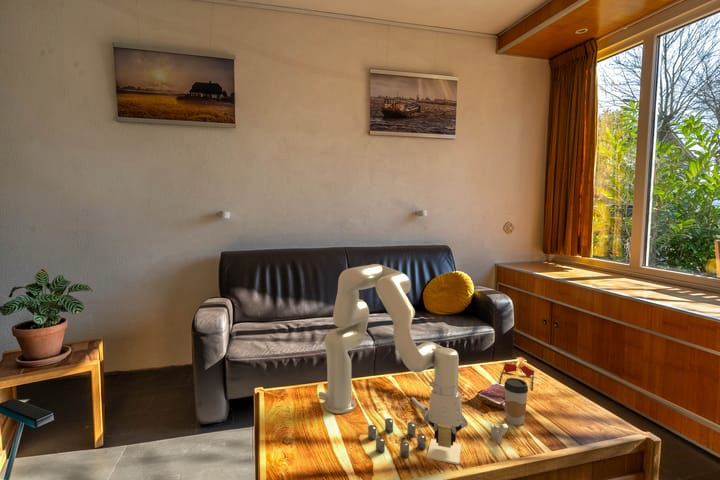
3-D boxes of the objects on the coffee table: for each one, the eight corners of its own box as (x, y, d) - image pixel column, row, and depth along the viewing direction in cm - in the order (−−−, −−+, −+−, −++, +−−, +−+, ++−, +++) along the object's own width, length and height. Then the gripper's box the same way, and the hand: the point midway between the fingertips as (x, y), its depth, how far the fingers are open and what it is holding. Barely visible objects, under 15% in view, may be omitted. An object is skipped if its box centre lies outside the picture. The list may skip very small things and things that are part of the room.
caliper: (429, 425, 144) (429, 409, 144) (426, 426, 144) (426, 409, 143) (412, 398, 164) (413, 384, 164) (410, 399, 164) (410, 384, 164)
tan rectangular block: (438, 445, 127) (438, 427, 126) (439, 438, 131) (439, 421, 130) (450, 448, 126) (451, 430, 125) (451, 440, 130) (452, 423, 129)
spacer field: (361, 450, 129) (361, 438, 129) (374, 426, 143) (374, 415, 143) (422, 462, 123) (422, 450, 123) (428, 436, 137) (429, 425, 137)
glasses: (534, 377, 186) (534, 366, 185) (532, 392, 171) (533, 380, 170) (503, 371, 192) (503, 361, 191) (498, 385, 177) (499, 374, 176)
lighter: (490, 437, 137) (491, 415, 136) (494, 436, 137) (495, 414, 137) (503, 449, 130) (504, 426, 129) (507, 448, 131) (508, 425, 130)
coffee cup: (527, 418, 149) (528, 379, 148) (526, 429, 142) (528, 389, 140) (503, 413, 153) (505, 375, 151) (501, 424, 145) (503, 384, 144)
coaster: (426, 458, 125) (426, 456, 125) (431, 440, 135) (431, 438, 135) (459, 464, 122) (459, 462, 122) (461, 446, 132) (461, 444, 132)
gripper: (418, 389, 125) (417, 443, 127) (472, 396, 120) (471, 453, 122) (421, 379, 133) (421, 431, 134) (473, 386, 128) (472, 440, 129)
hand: (445, 441), depth 128 cm, fingers closed on tan rectangular block, 4 cm apart
